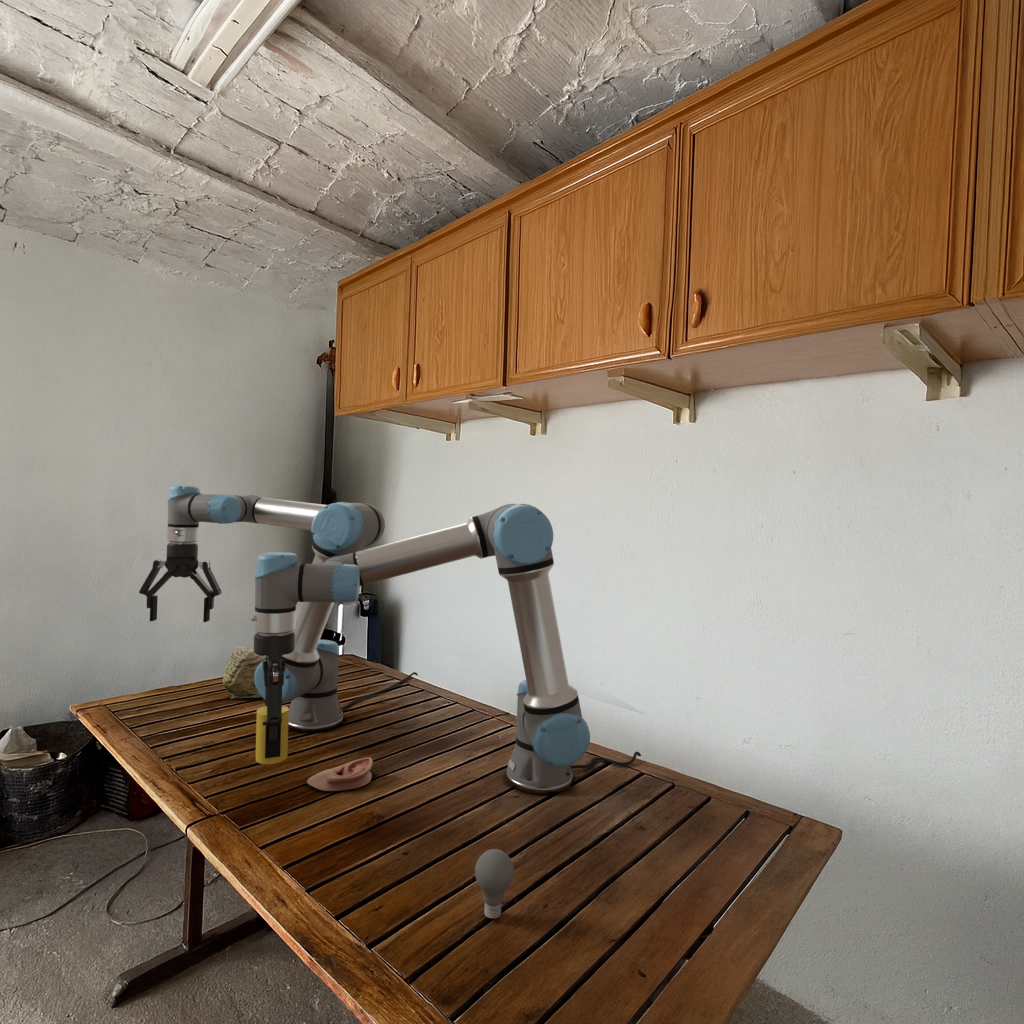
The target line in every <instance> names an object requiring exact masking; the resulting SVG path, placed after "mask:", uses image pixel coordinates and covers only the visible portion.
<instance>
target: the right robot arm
mask: <svg viewBox="0 0 1024 1024" xmlns="http://www.w3.org/2000/svg"><path fill="white" fill-rule="evenodd" d="M553 543H554V529H553V525H552V523H551V521H550V519H549V518H548V516H547V515H546V514H545V513H544V512H543V511H541V510H540V509H539V508H538V507H536V506H533V505H531V504H526V503H508V504H504V505H502V506H499V507H496V508H494V509H492V510H490V511H487V512H484V513H481V514H477V515H474V516H471V517H469V518H468V520H467V522H464V523H462V524H458V525H453V526H450V527H446V528H442V529H439V530H435V531H431V532H427V533H424V534H420V535H419V534H418V535H415V536H412V537H408V538H404V539H400V540H396V541H393V542H389V543H384V544H381V545H378V546H373V547H370V548H365V549H362V550H361V551H358V552H355V553H350V554H346V555H342V556H334V557H330V558H328V559H327V560H325V561H324V562H323V563H322V564H312V563H302V562H299V560H298V555H297V553H294V552H286V551H271V552H263V553H261V554H259V555H258V556H257V559H256V564H255V565H256V566H255V575H254V584H255V585H254V615H252V616H251V617H250V620H251V621H252V622H254V631H255V632H256V633H255V634H254V635H253V649H254V653H255V654H257V655H261V656H266V658H265V660H266V661H263V672H264V681H265V687H266V689H265V699H263V700H264V707H265V706H267V720H266V722H263V725H266V734H265V758H273V757H280V747H281V723H282V718H281V716H282V705H283V704H282V686H283V685H284V672H285V663H284V660H281V656H282V655H284V654H290V653H292V652H293V651H294V650H295V633H294V632H292V631H294V630H295V629H296V604H297V602H334V603H337V604H343V603H352V602H356V601H357V600H358V599H359V596H360V587H363V586H365V585H369V584H370V585H371V584H374V583H378V582H381V581H385V580H389V579H393V578H396V577H400V576H404V575H408V574H412V573H415V572H418V571H423V570H426V569H430V568H435V567H439V566H441V565H445V564H449V563H452V562H453V563H454V562H458V561H461V560H465V559H468V558H472V557H477V558H479V560H480V559H481V560H482V559H484V558H485V559H486V558H490V557H495V560H496V565H497V572H498V575H499V576H500V577H502V578H503V579H505V580H506V582H507V585H508V590H509V595H510V602H511V605H512V606H511V607H512V612H513V617H514V622H515V623H514V624H515V628H516V633H517V637H518V643H519V649H520V654H521V659H522V665H523V670H524V676H525V679H524V680H521V681H520V682H519V684H518V687H517V693H516V696H517V702H516V727H515V729H516V730H515V744H514V745H515V746H514V748H513V751H512V753H511V755H510V758H509V761H508V763H507V767H506V774H505V777H506V781H507V783H508V784H509V785H510V786H511V787H513V788H514V789H516V790H519V791H522V792H525V793H528V794H535V795H552V794H558V793H561V792H564V791H566V790H567V789H569V788H570V787H571V786H572V784H573V771H572V770H574V769H588V768H591V767H592V766H593V764H594V762H596V761H600V762H601V761H602V762H606V763H610V764H612V765H617V766H621V767H626V766H630V765H632V764H633V763H634V762H635V760H636V758H637V756H638V757H642V754H641V753H640V752H639V751H635V752H634V753H633V755H632V757H631V759H630V760H628V761H625V762H624V761H623V762H622V761H616V760H613V759H610V758H607V757H604V756H603V757H602V756H596V757H593V758H591V759H590V761H589V762H588V763H587V764H576V763H577V762H578V761H580V760H581V759H582V758H583V757H584V755H585V754H586V753H587V751H588V749H589V746H590V743H591V733H590V729H589V726H588V723H587V721H586V720H585V719H584V718H583V714H582V709H581V704H580V703H581V702H580V698H579V693H578V690H577V689H576V688H575V687H573V686H572V685H570V684H569V679H568V673H567V669H566V662H565V657H564V651H563V646H562V641H561V640H562V639H561V635H560V629H559V625H558V623H559V622H558V617H557V613H556V607H555V602H554V597H553V592H552V591H553V590H552V586H551V579H550V575H549V574H550V571H551V570H552V568H553V567H554V566H555V562H554V556H553V549H552V548H553V547H552V546H553Z"/></svg>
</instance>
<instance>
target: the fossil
mask: <svg viewBox="0 0 1024 1024" xmlns="http://www.w3.org/2000/svg"><path fill="white" fill-rule="evenodd" d="M265 658H266V656H261V655H257V654H255V653H254V648H251V647H247V646H246V647H245V646H238V647H237V648H236V649H235V650H233V651H232V653H231V656H230V657H229V659H228V660H227V663H226V666H225V668H224V671H223V675H222V676H223V677H222V685H223V687H224V688H225V690H226V691H228V693H229V698H230V699H250V698H262V696H261V695H260V694H259V692H258V689H257V687H256V686H255V681H254V676H255V671H256V669H257V667H258V666H259V665H260V664H261V663H262V662H263V661H265Z"/></svg>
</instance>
